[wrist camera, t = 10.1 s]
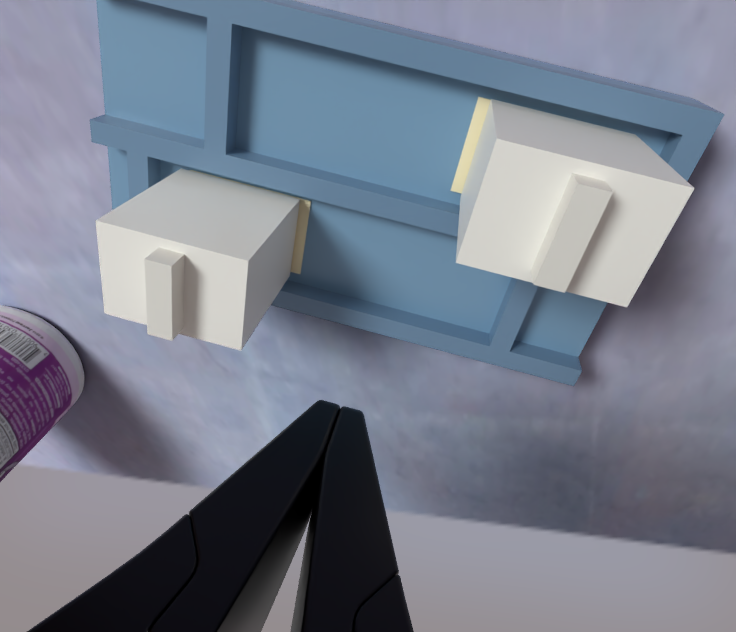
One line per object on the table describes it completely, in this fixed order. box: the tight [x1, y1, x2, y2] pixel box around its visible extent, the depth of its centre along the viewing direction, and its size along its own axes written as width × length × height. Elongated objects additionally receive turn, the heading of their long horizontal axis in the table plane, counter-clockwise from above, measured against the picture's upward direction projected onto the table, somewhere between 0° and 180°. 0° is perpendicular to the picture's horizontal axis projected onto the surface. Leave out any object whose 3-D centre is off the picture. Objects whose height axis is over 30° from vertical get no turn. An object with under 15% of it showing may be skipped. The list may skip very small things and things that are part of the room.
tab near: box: [456, 99, 694, 307], centre depth 11 cm, size 4×2×5 cm
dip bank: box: [90, 0, 724, 386], centre depth 15 cm, size 15×8×2 cm, turn 79°
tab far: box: [96, 168, 300, 350], centre depth 14 cm, size 4×2×5 cm
